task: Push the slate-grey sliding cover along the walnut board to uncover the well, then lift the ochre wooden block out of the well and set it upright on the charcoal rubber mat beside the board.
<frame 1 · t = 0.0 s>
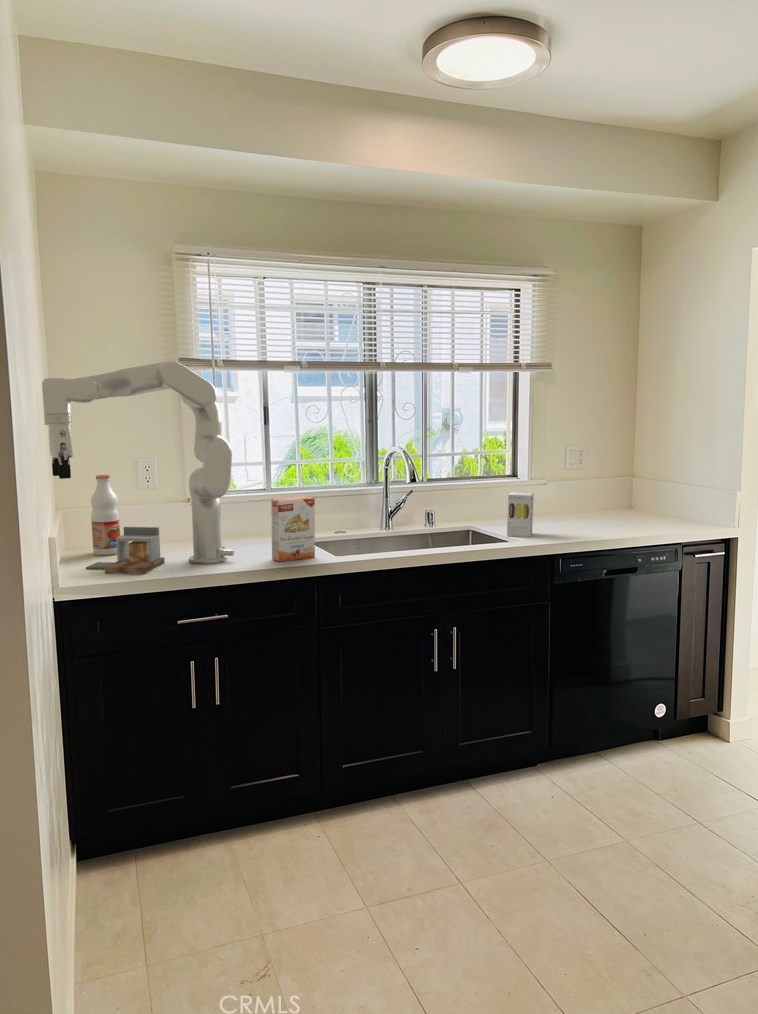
hand: (61, 477, 226), 31 cm above the worktop, tool pointing down, fingers open, 9 cm apart
cover: (138, 544, 245), point 7 cm above the worktop, slide at 0.0 cm
cracker box: (293, 559, 257), on the worktop
block: (140, 565, 247), resting in board
mat: (103, 566, 245), on the worktop
board: (135, 568, 243), on the worktop
fruit juice: (107, 553, 267), on the worktop
supplement box: (519, 535, 300), on the worktop
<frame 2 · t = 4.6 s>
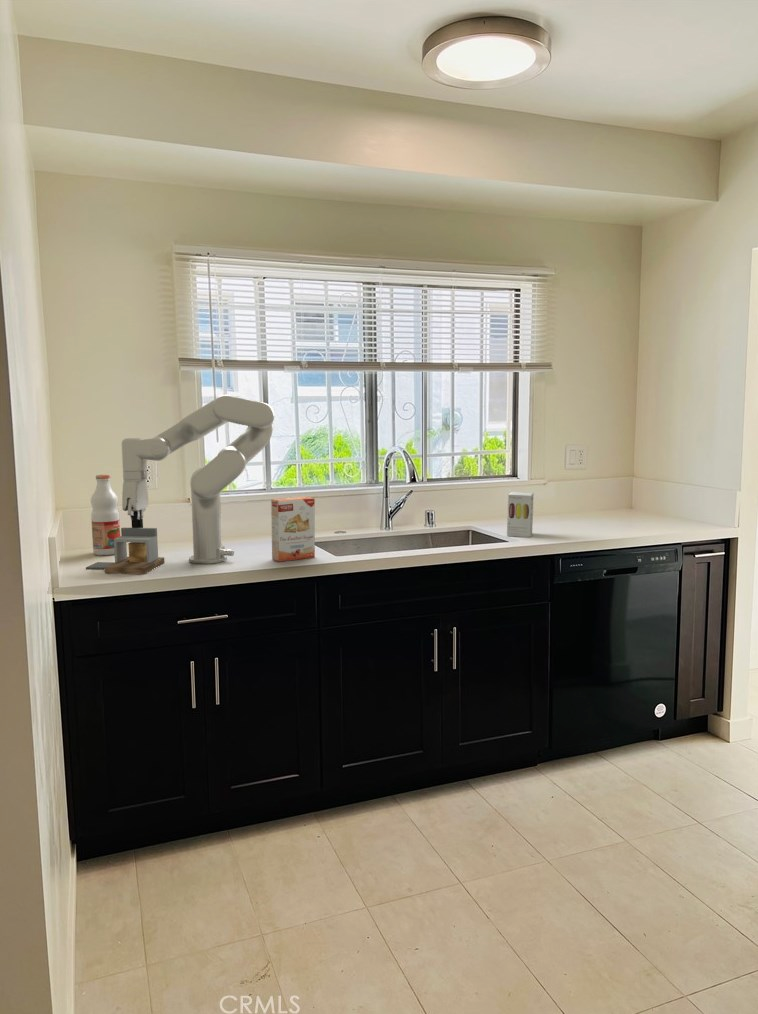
hand: (137, 530, 248), 11 cm above the worktop, tool pointing down, fingers closed
cover: (136, 545, 243), point 7 cm above the worktop, slide at 1.8 cm, touching gripper
everything else where it was.
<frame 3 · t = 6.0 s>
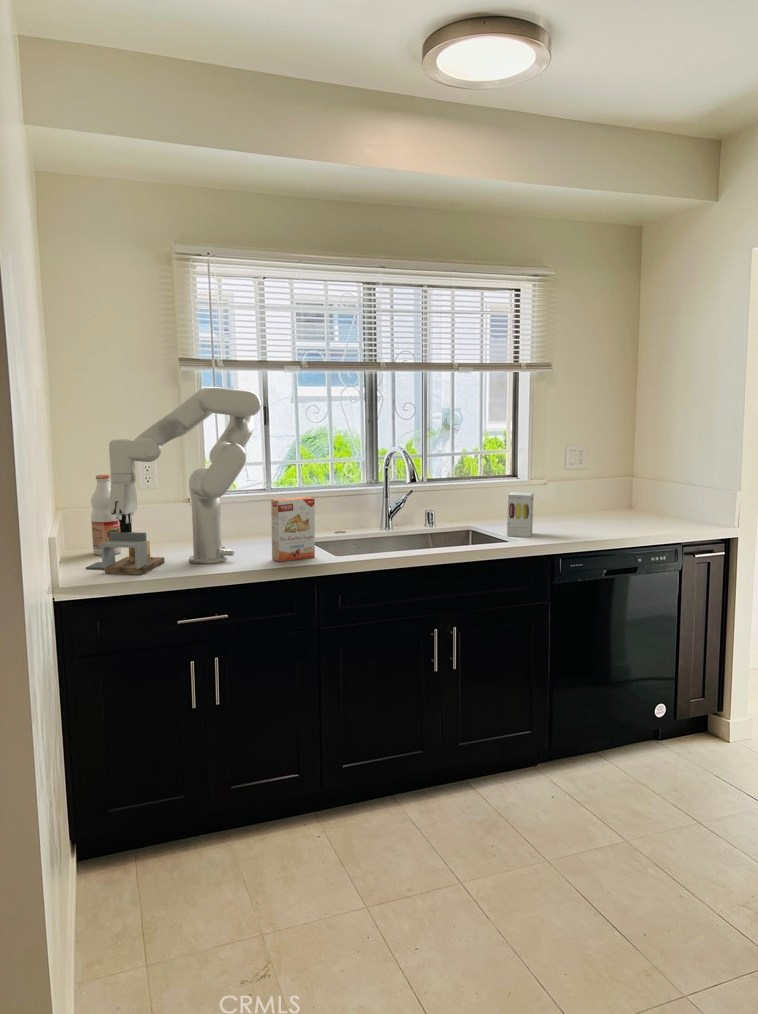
hand: (126, 535, 240), 11 cm above the worktop, tool pointing down, fingers closed
cover: (124, 550, 235), point 7 cm above the worktop, slide at 10.2 cm, touching gripper
everything else where it was.
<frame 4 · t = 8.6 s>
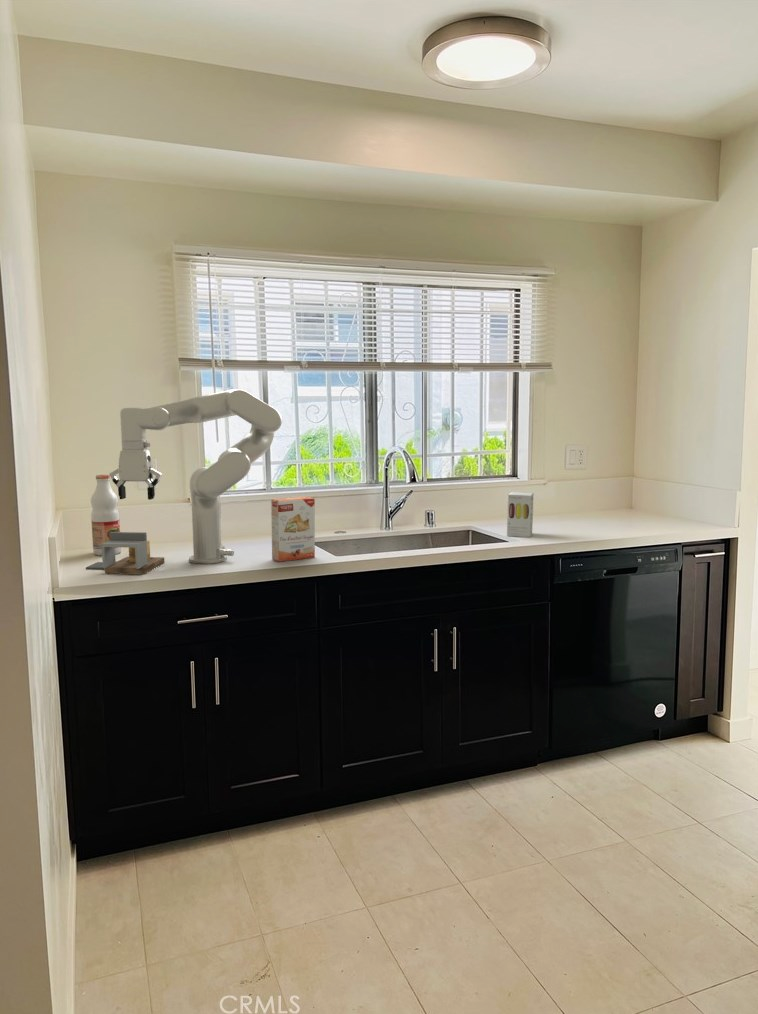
hand: (136, 498, 243), 22 cm above the worktop, tool pointing down, fingers open, 9 cm apart
cover: (124, 550, 235), point 7 cm above the worktop, slide at 10.0 cm
everything else where it was.
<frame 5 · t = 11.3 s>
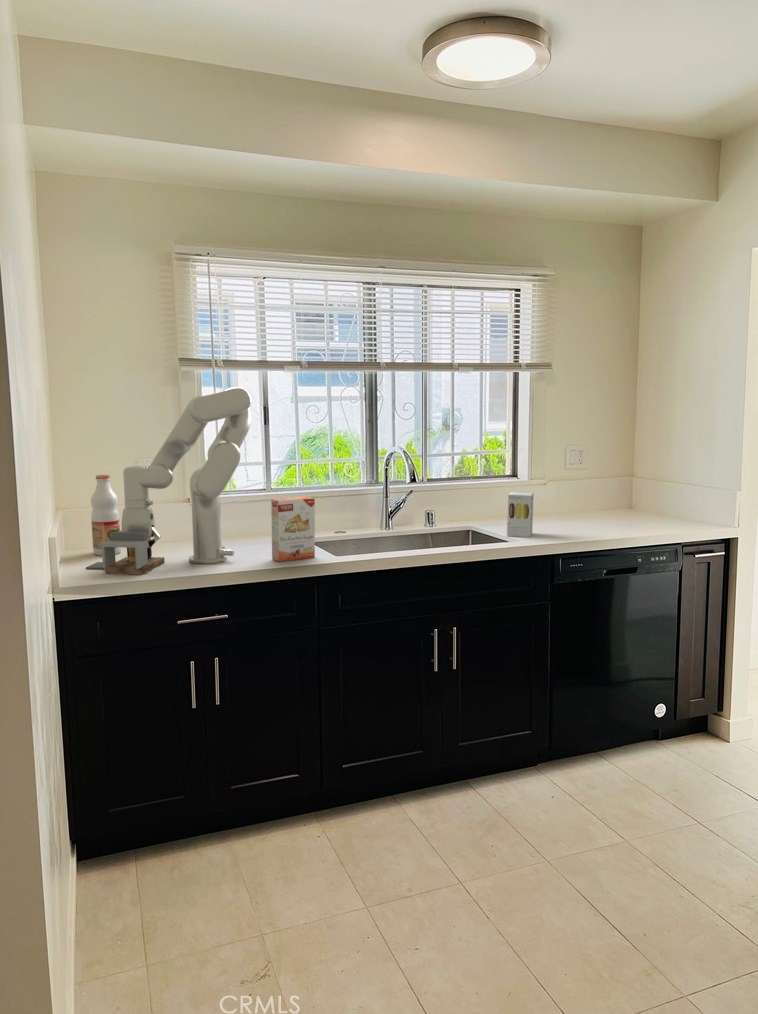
hand: (139, 558, 246), 2 cm above the worktop, tool pointing down, fingers closed on block, 4 cm apart
block: (140, 565, 247), resting in board, touching gripper
everything else where it was.
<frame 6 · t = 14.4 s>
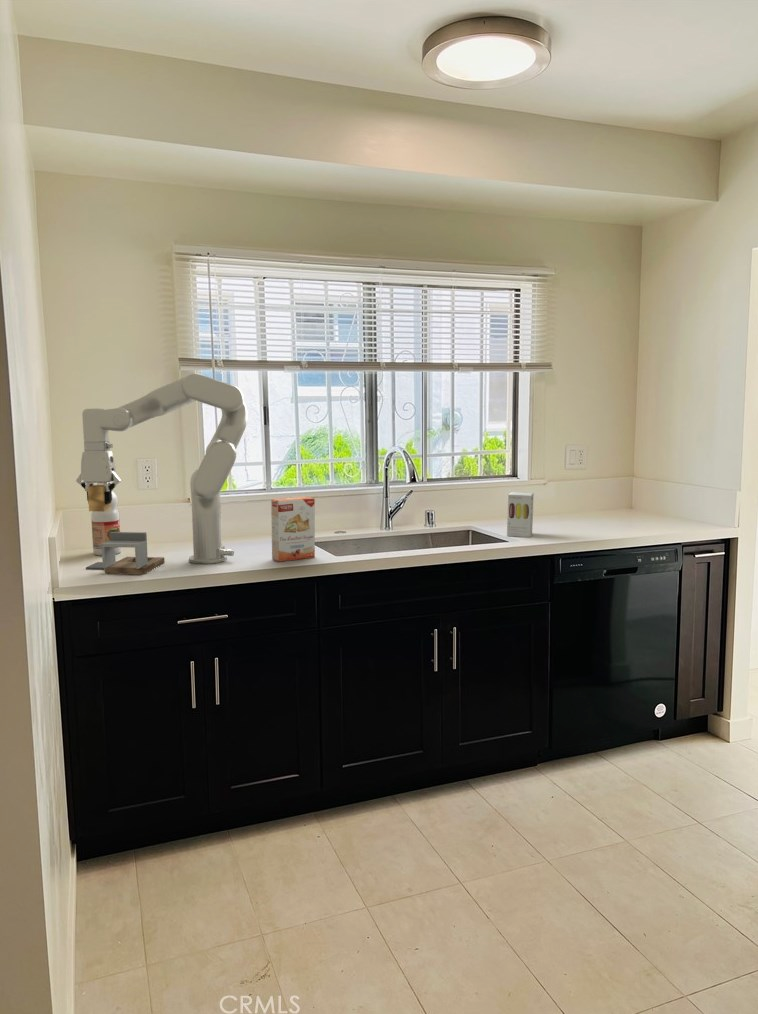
hand: (99, 502, 242), 21 cm above the worktop, tool pointing down, fingers closed on block, 4 cm apart
block: (100, 510, 243), point 19 cm above the worktop, touching gripper
everything else where it was.
when the fingers open (4 cm above the worktop, at t = 17.9 s): block drops 1 cm, resting on mat.
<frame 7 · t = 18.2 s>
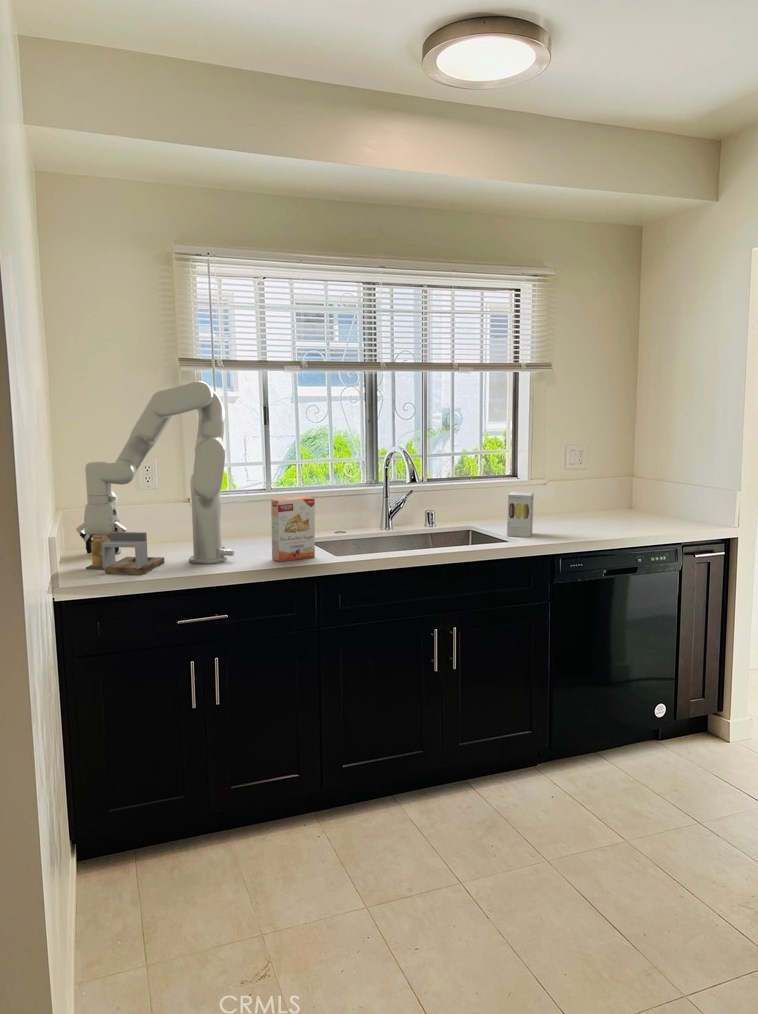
hand: (102, 552, 245), 5 cm above the worktop, tool pointing down, fingers open, 8 cm apart
block: (103, 564, 245), point 1 cm above the worktop, touching mat
everything else where it was.
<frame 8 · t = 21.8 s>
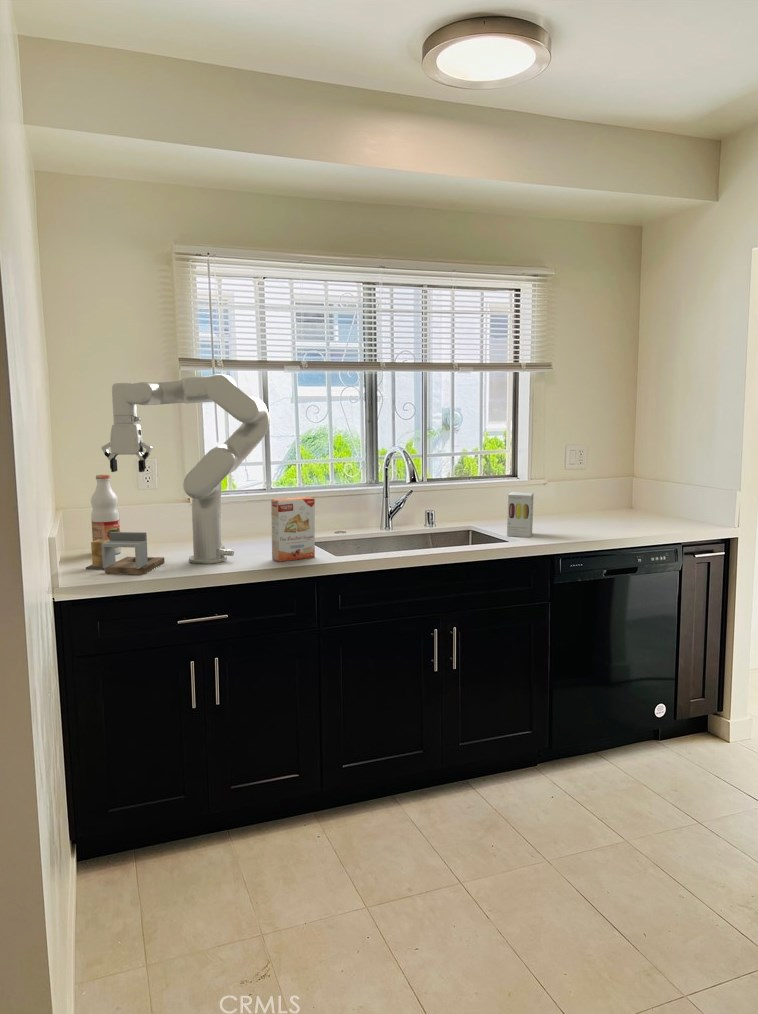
hand: (128, 471, 251), 30 cm above the worktop, tool pointing down, fingers open, 9 cm apart
nothing on the worktop moved.
at the end: cover slide at 10.0 cm; block 0.0 cm off-centre on the mat, point 0.6 cm above the mat's base; block tilted 0° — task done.
